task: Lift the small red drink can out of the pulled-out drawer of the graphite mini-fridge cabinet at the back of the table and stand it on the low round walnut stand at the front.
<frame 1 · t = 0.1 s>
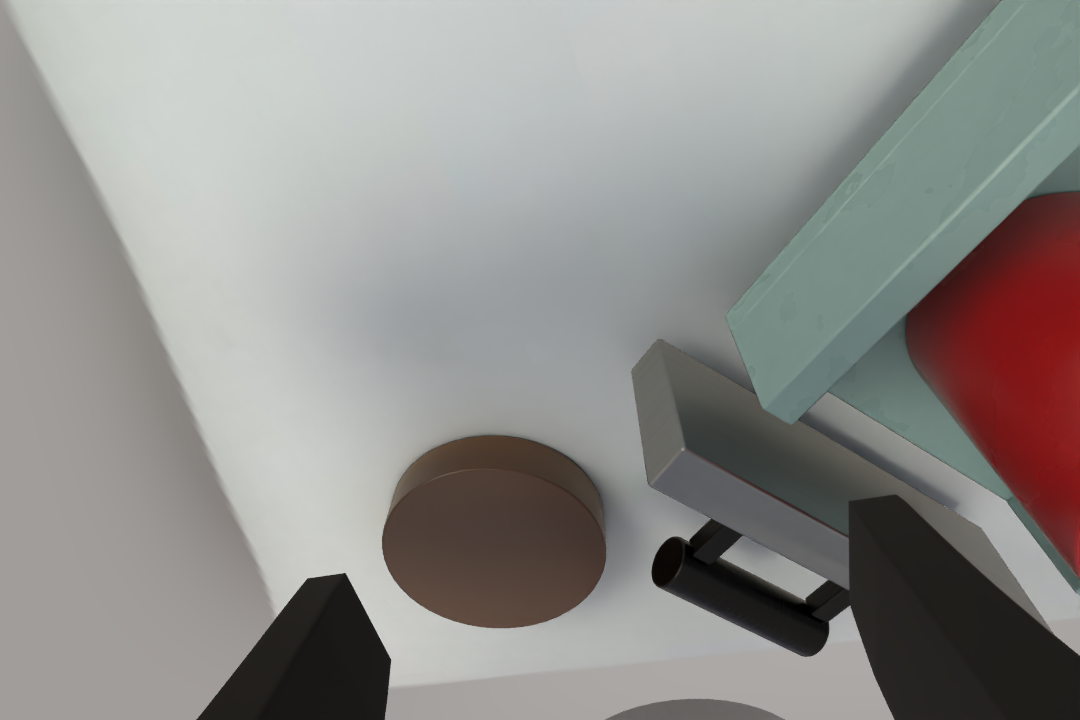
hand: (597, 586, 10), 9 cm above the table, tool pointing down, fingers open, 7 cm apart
can: (1027, 306, 16), point 2 cm above the table, touching drawer
stand: (497, 519, 22), on the table
drawer: (1064, 322, 15), point 3 cm above the table, slide at 15.0 cm, touching can
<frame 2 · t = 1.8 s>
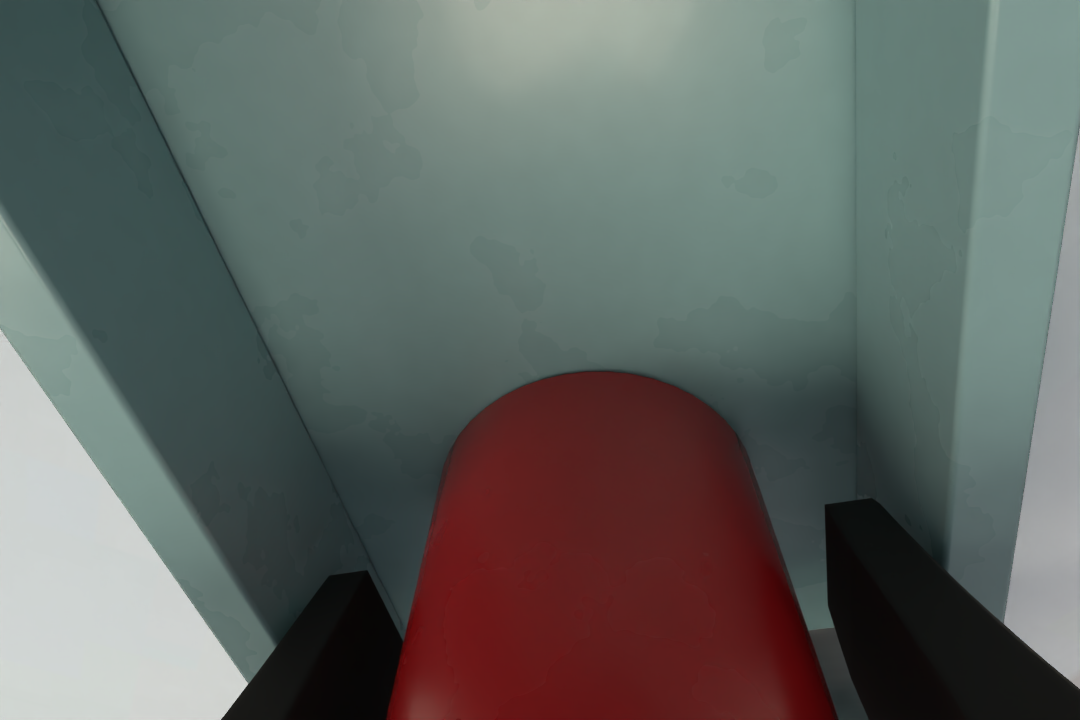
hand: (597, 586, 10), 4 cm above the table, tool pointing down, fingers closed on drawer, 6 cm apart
can: (595, 500, 12), point 2 cm above the table, touching drawer
drawer: (595, 537, 11), point 3 cm above the table, slide at 15.0 cm, touching can, gripper
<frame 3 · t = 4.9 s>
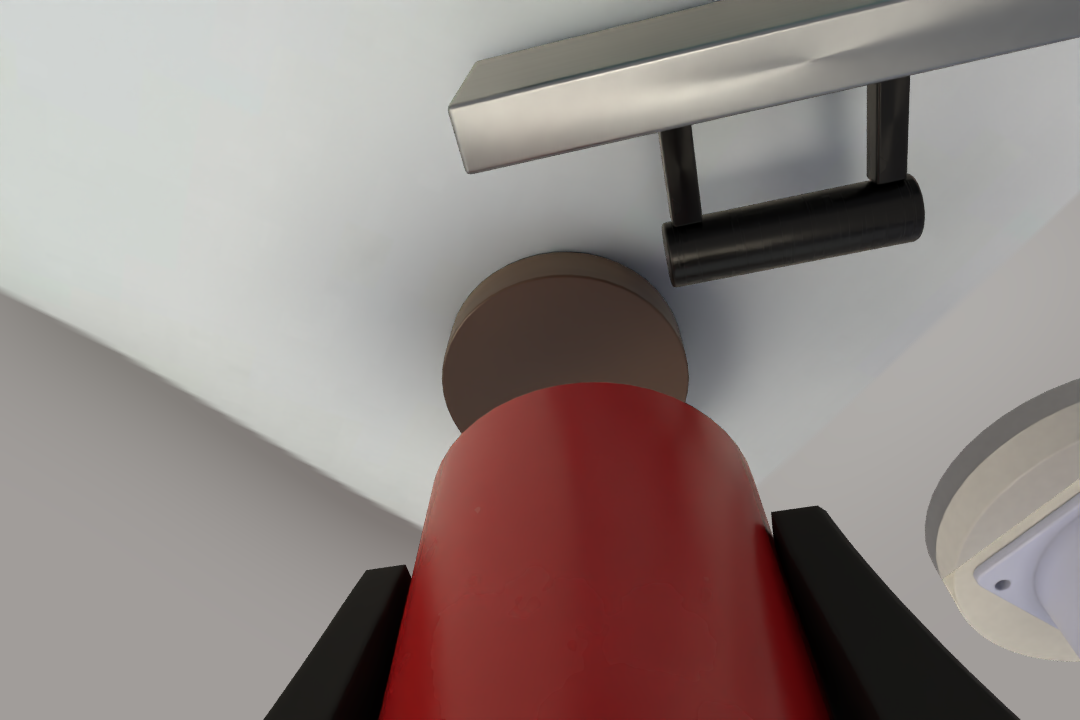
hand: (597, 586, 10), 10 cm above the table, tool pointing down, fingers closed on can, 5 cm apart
can: (591, 513, 12), point 9 cm above the table, touching gripper
stand: (564, 358, 20), on the table
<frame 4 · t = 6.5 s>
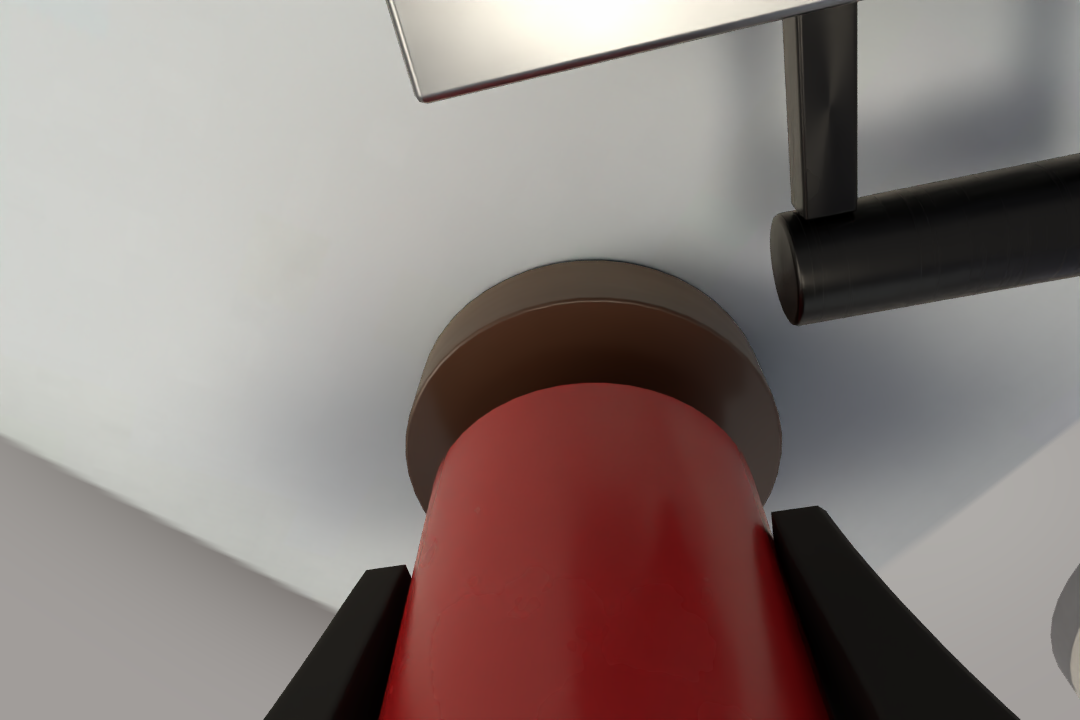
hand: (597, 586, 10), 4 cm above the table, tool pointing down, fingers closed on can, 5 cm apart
can: (591, 513, 12), point 3 cm above the table, touching gripper
stand: (589, 416, 14), on the table
when the fingers open (3 cm above the table, at t = 7.4 s): can stays where it is, resting on stand.
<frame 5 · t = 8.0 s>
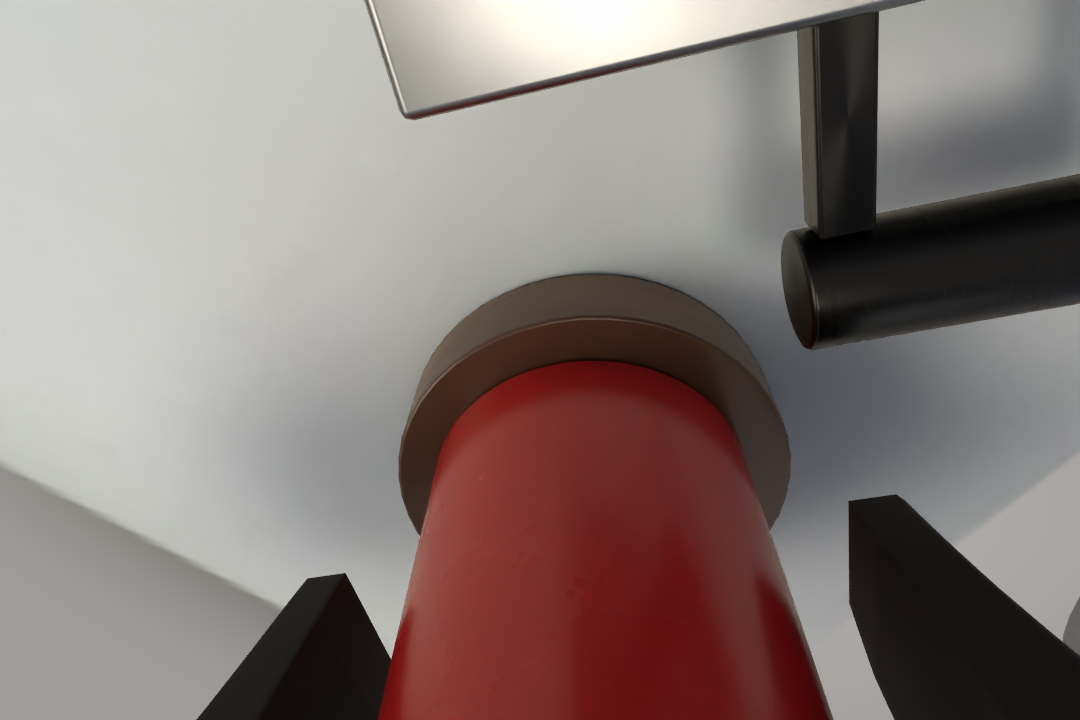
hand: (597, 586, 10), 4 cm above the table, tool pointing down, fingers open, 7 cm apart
can: (589, 488, 12), point 1 cm above the table, touching stand
stand: (589, 434, 13), on the table
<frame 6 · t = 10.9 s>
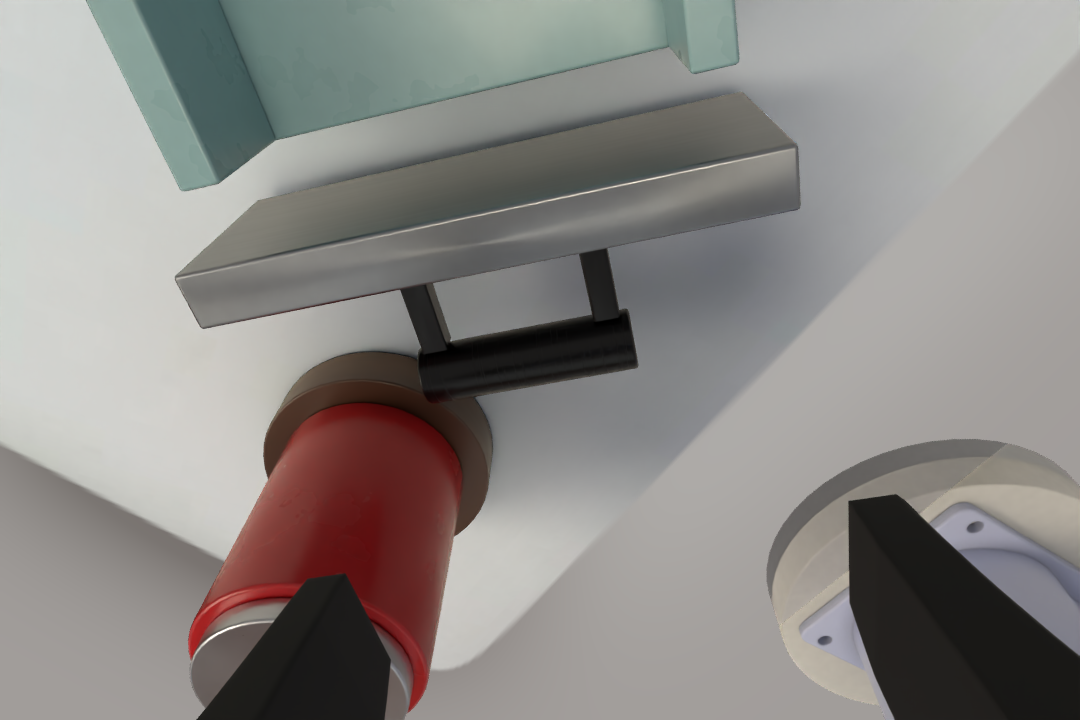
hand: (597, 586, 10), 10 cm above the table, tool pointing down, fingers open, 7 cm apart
can: (374, 474, 21), point 1 cm above the table, touching stand
stand: (387, 442, 22), on the table
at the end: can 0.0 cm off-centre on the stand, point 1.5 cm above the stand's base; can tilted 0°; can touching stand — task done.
